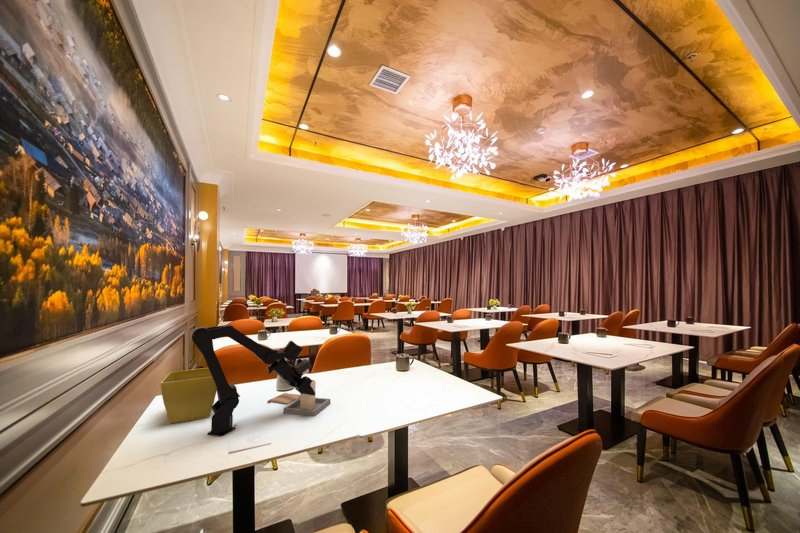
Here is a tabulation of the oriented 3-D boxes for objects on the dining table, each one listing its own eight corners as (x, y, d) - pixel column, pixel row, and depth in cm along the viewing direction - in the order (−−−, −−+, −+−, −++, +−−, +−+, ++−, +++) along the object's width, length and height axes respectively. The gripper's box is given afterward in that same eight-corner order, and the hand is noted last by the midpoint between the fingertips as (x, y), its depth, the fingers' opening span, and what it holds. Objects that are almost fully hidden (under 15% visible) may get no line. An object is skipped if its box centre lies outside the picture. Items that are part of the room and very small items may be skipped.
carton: (309, 410, 128) (310, 383, 129) (300, 409, 129) (300, 382, 130) (315, 406, 132) (315, 379, 133) (305, 405, 133) (306, 379, 134)
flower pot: (168, 411, 130) (170, 371, 132) (220, 403, 139) (221, 365, 140) (157, 429, 113) (159, 383, 115) (217, 419, 122) (218, 375, 123)
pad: (287, 405, 135) (287, 403, 135) (267, 402, 139) (267, 400, 139) (303, 397, 145) (303, 395, 145) (284, 394, 149) (284, 392, 149)
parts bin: (314, 417, 122) (314, 411, 122) (283, 414, 125) (283, 408, 126) (330, 404, 136) (330, 398, 136) (302, 402, 139) (302, 396, 139)
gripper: (307, 358, 123) (333, 380, 129) (291, 350, 137) (315, 371, 143) (287, 382, 117) (314, 404, 123) (273, 372, 132) (298, 392, 138)
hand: (311, 392), depth 132 cm, fingers open, 8 cm apart
